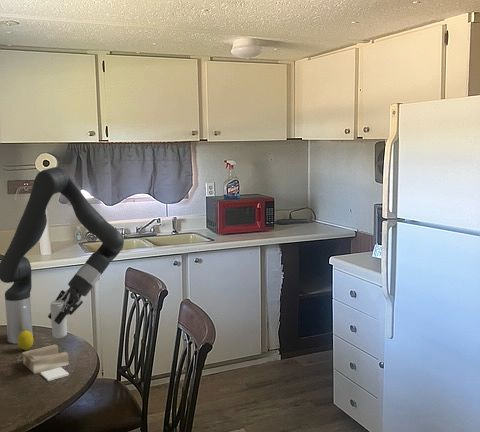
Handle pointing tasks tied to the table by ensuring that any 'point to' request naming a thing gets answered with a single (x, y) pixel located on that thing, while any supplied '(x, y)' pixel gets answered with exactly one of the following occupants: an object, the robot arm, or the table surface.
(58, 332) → the beverage can
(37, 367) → the lane rack
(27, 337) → the lemon
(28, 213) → the robot arm
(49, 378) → the tile
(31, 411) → the table surface
